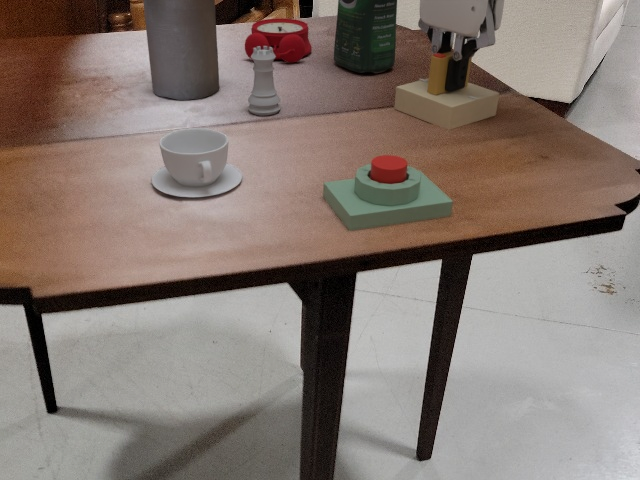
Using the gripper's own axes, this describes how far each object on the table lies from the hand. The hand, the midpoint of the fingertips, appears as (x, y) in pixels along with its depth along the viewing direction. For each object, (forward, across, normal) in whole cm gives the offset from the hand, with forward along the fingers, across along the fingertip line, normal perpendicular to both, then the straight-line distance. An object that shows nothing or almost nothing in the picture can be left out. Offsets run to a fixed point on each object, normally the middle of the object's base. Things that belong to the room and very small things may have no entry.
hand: (447, 86), depth 96 cm
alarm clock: (+4, +35, +2) cm, 35 cm away
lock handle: (0, 0, 0) cm, 0 cm away
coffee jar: (+4, +22, -5) cm, 23 cm away
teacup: (+4, +1, +38) cm, 38 cm away
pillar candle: (+4, +29, +23) cm, 37 cm away
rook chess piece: (+4, +15, +19) cm, 24 cm away
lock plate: (+3, 0, 0) cm, 3 cm away
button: (0, -16, +26) cm, 30 cm away
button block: (+3, -16, +26) cm, 30 cm away
